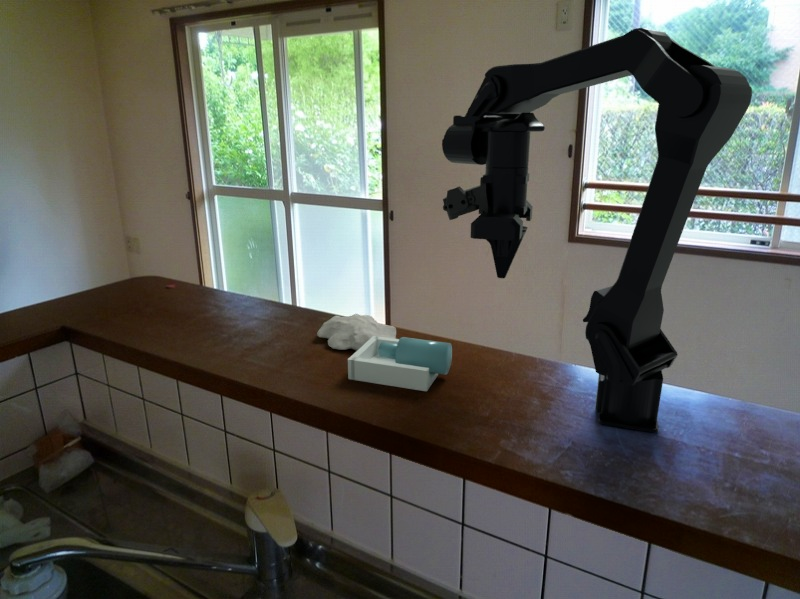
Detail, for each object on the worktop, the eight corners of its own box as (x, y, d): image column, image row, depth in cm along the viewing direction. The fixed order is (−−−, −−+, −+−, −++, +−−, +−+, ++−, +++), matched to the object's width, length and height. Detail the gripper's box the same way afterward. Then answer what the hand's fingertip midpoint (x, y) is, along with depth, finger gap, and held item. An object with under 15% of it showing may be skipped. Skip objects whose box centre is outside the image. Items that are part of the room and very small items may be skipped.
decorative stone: (304, 345, 91) (379, 373, 84) (302, 325, 89) (379, 352, 82) (344, 317, 99) (416, 341, 92) (343, 298, 97) (416, 321, 90)
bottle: (452, 338, 78) (386, 330, 81) (444, 350, 74) (375, 340, 77) (451, 367, 79) (386, 357, 83) (443, 379, 75) (375, 369, 79)
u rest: (445, 363, 82) (445, 345, 82) (426, 391, 74) (426, 370, 73) (373, 353, 86) (373, 335, 85) (348, 379, 78) (347, 359, 77)
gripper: (462, 161, 86) (459, 259, 91) (432, 171, 69) (431, 291, 74) (535, 162, 83) (529, 264, 87) (523, 172, 66) (515, 297, 71)
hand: (501, 277), depth 80 cm, fingers closed
